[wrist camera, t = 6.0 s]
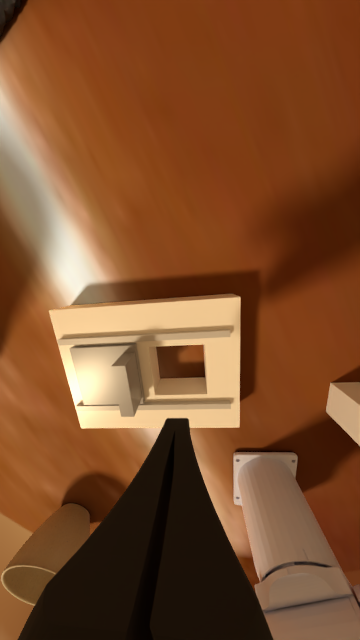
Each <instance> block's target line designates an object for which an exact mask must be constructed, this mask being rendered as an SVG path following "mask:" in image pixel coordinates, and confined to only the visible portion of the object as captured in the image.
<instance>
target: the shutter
mask: <svg viewBox="0 0 360 640" xmlns="http://www.w3.org/2000/svg"><path fill="white" fill-rule="evenodd" d="M69 349H70V353H71V357H72V361H73V365H74V368H75V372H76V376H77V380H78V384H79V388H80V392H81V395H82V399H83V403H84V405H111V404H119V409H120V414H121V417H134V416H135V414H136V411H137V409H138V406H139V404H144V401H145V396H144V389H143V383H142V376H141V370H140V363H139V357H138V350H137V344H136V343H125V344H105V345H85V346H73V347H71V348H69Z"/></svg>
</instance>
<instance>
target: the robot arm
mask: <svg viewBox="0 0 360 640" xmlns="http://www.w3.org/2000/svg"><path fill="white" fill-rule="evenodd" d="M297 460H298V457H297V455H296V454H295V453H293V452H235V453H234V455H233V471H234V503H235V504H236V505H242V509H243V513H244V518H245V523H246V527H247V532H248V537H249V541H250V546H251V550H252V555H253V560H254V564H255V568H256V571H257V574H258V577H259V580H260V583H259V584H256V585H255V591H256V593H255V592H254V590H253V588H252V586H251V584H250V582H249V580H248V578H247V576H246V574H245V572H244V570H243V568H242V566H241V564H240V562H239V560H238V558H237V556H236V554H235V552H234V550H233V548H232V546H231V544H230V542H229V540H228V538H227V535H226V533H225V531H224V529H223V526H222V524H221V522H220V520H219V517H218V515H217V513H216V511H215V508H214V506H213V504H212V501H211V499H210V496H209V494H208V491H207V488H206V486H205V483H204V480H203V478H202V475H201V472H200V469H199V466H198V463H197V459H196V456H195V452H194V449H193V445H192V441H191V436H190V427H189V419H188V418H167V419H166V420H165V423H164V425H163V427H162V430H161V432H160V434H159V436H158V438H157V440H156V442H155V444H154V446H153V447H152V449H151V451H150V453H149V455H148V456H147V458H146V460H145V461H144V463H143V465H142V466H141V468H140V470H139V471H138V473H137V474H136V476H135V478H134V479H133V481H132V482H131V484H130V485H129V486H128V488H127V489H126V491H125V492H124V494H123V495H122V496H121V498H120V499H119V500H118V502H117V503H116V504H115V506H114V507H113V508H112V510H111V511H110V512H109V514H108V515H107V516H106V517H105V519H104V520H103V521H102V522H101V523H100V525H99V526H98V527H97V528H96V529H95V531H94V532H93V533H92V534H91V535H90V537H89V538H88V539H87V540H86V541H85V543H84V544H83V545H82V546H81V547H80V548H79V549H78V551H77V552H76V553H75V554H74V555H73V556H72V557H71V558H70V559H69V560H68V561H67V562H66V564H65V565H64V566H63V567H62V568H61V569H60V570H59V571H58V572H57V573H56V574H55V576H54V577H53V578H52V579H51V580H50V581H49V582H48V583H47V584H46V586H45V588H44V590H43V592H42V594H41V595H40V597H39V599H38V601H37V603H36V604H35V606H34V608H33V610H32V612H31V614H30V616H29V618H28V619H27V622H26V624H25V626H24V628H23V630H22V632H21V634H20V636H19V638H18V640H360V585H359V584H357V585H355V586H353V587H352V586H351V584H350V583H349V581H348V580H347V578H346V577H345V575H344V573H343V571H342V569H341V567H340V565H339V563H338V561H337V559H336V557H335V556H334V554H333V552H332V550H331V548H330V546H329V544H328V542H327V540H326V538H325V536H324V534H323V532H322V530H321V528H320V526H319V524H318V522H317V520H316V518H315V516H314V514H313V512H312V511H311V509H310V507H309V505H308V503H307V501H306V499H305V497H304V495H303V493H302V491H301V489H300V487H299V485H298V483H297V481H296V479H295V477H296V469H297Z"/></svg>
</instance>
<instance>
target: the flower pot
mask: <svg viewBox="0 0 360 640" xmlns="http://www.w3.org/2000/svg"><path fill="white" fill-rule="evenodd" d="M89 534H90V515H89V512H88V511H87V510H86V509H85V508H84V507H82V506H80V505H78V504H73V503H69V504H65V505H63V506H62V507H61V508H59V509H58V510H57V511H56V512H55V513H54V514H52V515H51V516H50V517H49V518H48V519H47V520H46V521H45V522H44V523H43V524H42V525H41V526H40V527H39V528H38V529H37V530H36V531H35V532H34V533H33V534H32V536H31V537H30V538H29V539H28V540H27V541H26V542H25V544H24V545H23V546H22V547H21V549H20V550H19V551H18V552H17V554H16V555H15V556H14V557H13V559H12V560H11V562H10V563H9V564H8V566H7V567H6V569H5V570H4V571H3V573H2V576H1V581H2V584H3V586H4V587H5V588H6V589H7V591H8V592H10V593H11V594H12V595H13V596H15V597H16V598H18V599H20V600H22V601H24V602H26V603H29V604H31V605H34V606H35V604H36V603H37V601H38V599H39V597H40V595H41V594H42V592H43V590H44V588H45V586H46V584H47V583H48V582H49V581H50V580H51V579H52V578H53V577H54V576H55V574H56V573H57V572H58V571H59V570H60V569H61V568H62V567H63V566H64V565H65V564H66V562H67V561H68V560H69V559H70V558H71V557H72V556H73V555H74V554H75V553H76V552H77V551H78V549H79V548H80V547H81V546H82V545H83V544H84V543H85V541H86V540H87V539H88V538H89Z"/></svg>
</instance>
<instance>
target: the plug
mask: <svg viewBox="0 0 360 640" xmlns="http://www.w3.org/2000/svg"><path fill="white" fill-rule="evenodd" d="M326 412H327V413H328V414H329V415H330V416H331V417H332V418H333V419H334V420H335V421H336V422H337V423H338V424H339V425H340V426H341V427H342V428H343V429H344V431H345V432H346V433H347V434H348V435H349V436H350V437H351V438H352V439H353V440H354V441H355V442H356V443H357V444H358V445H359V446H360V382H341V383H330V389H329V396H328V402H327V408H326Z"/></svg>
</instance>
